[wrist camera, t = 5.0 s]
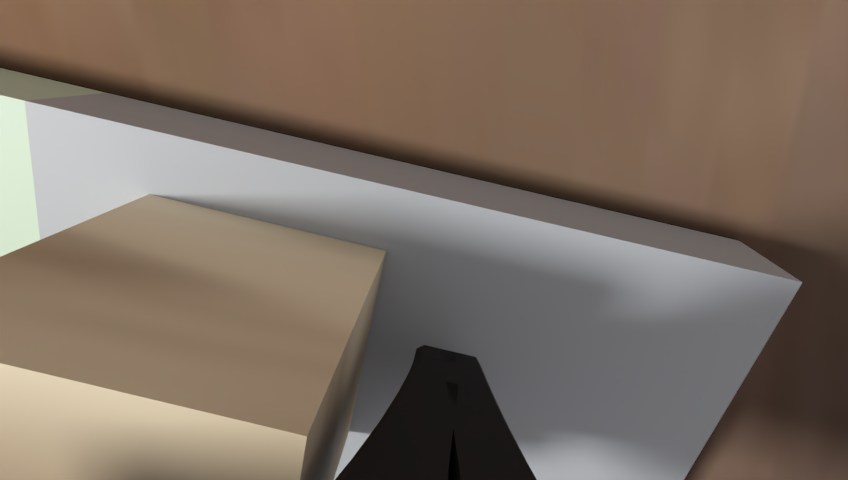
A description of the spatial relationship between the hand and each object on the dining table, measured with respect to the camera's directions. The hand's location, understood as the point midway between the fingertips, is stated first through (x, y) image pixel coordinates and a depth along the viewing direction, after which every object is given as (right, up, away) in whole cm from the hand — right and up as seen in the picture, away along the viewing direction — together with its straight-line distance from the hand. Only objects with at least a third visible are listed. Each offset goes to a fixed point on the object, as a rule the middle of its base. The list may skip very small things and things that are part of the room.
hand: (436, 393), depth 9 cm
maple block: (-4, +1, +1) cm, 4 cm away
